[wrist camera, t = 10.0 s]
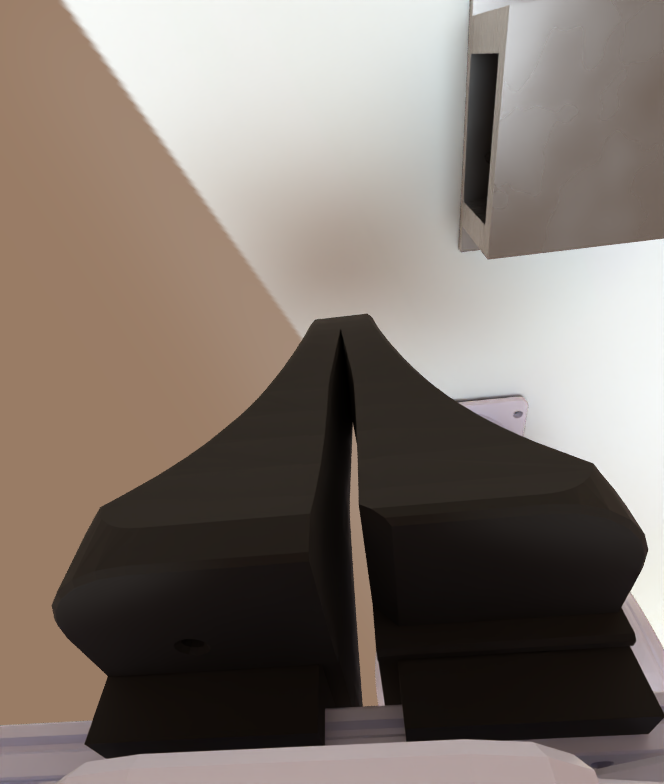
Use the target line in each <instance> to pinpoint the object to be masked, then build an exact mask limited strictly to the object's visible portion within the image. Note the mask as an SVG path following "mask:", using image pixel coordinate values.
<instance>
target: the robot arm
mask: <svg viewBox="0 0 664 784" xmlns="http://www.w3.org/2000/svg"><path fill="white" fill-rule="evenodd" d="M517 411H520V412H518V413H516V414H514V413H515V412H517ZM527 411H528V403H527V401H526V399H525V398H523V397H508V398H498V399H488V400H477V401H467V402H456V401H455V400H453V399H452V398H450V397H449V396H447V395H446V394H444V393H443V392H442V391H440V390H439V389H438V388H436V387H435V386H434V385H432V384H431V383H430V382H429V381H428V380H426V379H425V378H424V377H423V376H422V375H421V374H420V373H419V372H417V371H416V370H415V369H414V368H413V367H412V366H411V365H410V364H409V363H408V362H407V361H406V360H405V359H404V358H403V357H402V356H401V355H400V354H399V353H398V351H397V350H396V349H395V348H394V347H393V346H392V345H391V344H390V342H389V341H388V340H387V339H386V337H385V336H384V335H383V334H382V332H381V331H380V329H379V328H378V327H377V325H376V323H375V322H374V320H373V318H372V317H371V316H370V315H368V314H361V315H352V316H344V317H335V318H326V319H317V320H315V321H314V322H313V323H312V324H311V326H310V328H309V329H308V331H307V333H306V334H305V336H304V338H303V339H302V341H301V343H300V344H299V346H298V347H297V349H296V351H295V352H294V353H293V355H292V356H291V358H290V359H289V360H288V362H287V363H286V365H285V366H284V368H283V369H282V370H281V371H280V373H279V374H278V375H277V376H276V378H275V379H274V380H273V381H272V383H271V384H270V385H269V386H268V388H267V389H266V390H265V391H264V392H263V393H262V394H261V396H260V397H259V398H258V399H257V400H256V401H255V402H254V403H253V404H252V405H251V406H250V407H249V408H248V409H247V410H246V411H245V412H244V413H242V414H241V415H240V416H239V417H238V418H237V419H236V420H234V421H233V422H232V423H231V424H230V425H228V426H227V427H226V428H225V429H223V430H222V431H221V432H220V433H218V435H216V436H215V437H214V438H212V439H211V440H210V441H209V442H207V443H206V444H205V445H203V446H202V447H200V448H199V449H198V450H196V451H195V452H193V453H192V454H191V455H189V456H188V457H186V458H185V459H183V460H182V461H180V462H178V463H177V464H175V465H174V466H172V467H171V468H169V469H168V470H166V471H164V472H163V473H161V474H159V475H158V476H156V477H155V478H153V479H151V480H149V481H147V482H146V483H144V484H142V485H140V486H138V487H137V488H135V489H133V490H131V491H130V492H128V493H126V494H124V495H122V496H121V497H119V498H117V499H115V500H113V501H112V502H110V503H108V504H106V505H104V506H102V507H100V509H99V511H98V512H97V514H96V516H95V518H94V520H93V521H92V524H91V525H90V527H89V529H88V531H87V532H86V534H85V537H84V539H83V541H82V543H81V545H80V547H79V549H78V551H77V553H76V555H75V557H74V559H73V561H72V563H71V565H70V567H69V569H68V571H67V573H66V575H65V577H64V579H63V581H62V583H61V585H60V587H59V589H58V591H57V594H56V596H55V599H54V601H53V604H52V609H53V614H54V618H55V621H56V623H57V625H58V626H59V627H60V629H61V630H62V632H63V633H64V634H65V635H66V637H67V638H68V639H69V640H70V641H71V642H72V643H73V644H74V645H75V646H77V648H79V649H80V650H81V651H82V652H83V653H84V654H85V655H86V656H87V657H88V658H89V659H90V660H91V661H92V662H94V663H95V664H96V665H97V666H98V667H99V668H100V669H101V670H102V671H103V672H104V673H105V674H106V675H107V676H108V678H107V681H106V684H105V686H104V689H103V692H102V695H101V698H100V701H99V704H98V706H97V709H96V712H95V715H94V718H93V721H76V722H58V723H38V724H18V725H0V784H664V649H663V647H662V645H661V643H660V641H659V639H658V637H657V635H656V634H655V632H654V630H653V628H652V626H651V625H650V623H649V621H648V619H647V618H646V616H645V614H644V613H643V611H642V609H641V608H640V606H639V604H638V603H637V601H636V600H635V598H634V597H633V595H632V594H631V592H630V591H631V589H632V587H633V585H634V583H635V581H636V579H637V578H638V576H639V574H640V572H641V570H642V568H643V566H644V562H645V559H646V556H647V552H648V547H647V542H646V538H645V534H644V532H643V531H642V529H641V528H640V526H639V525H638V523H637V522H636V520H635V519H634V517H633V516H632V514H631V512H630V511H629V509H628V508H627V506H626V505H625V503H624V502H623V501H622V499H621V498H620V496H619V495H618V494H617V492H616V491H615V490H614V488H613V487H612V486H611V485H610V484H609V482H608V481H607V480H606V479H605V478H604V477H603V475H602V474H601V473H600V472H599V470H598V469H597V468H596V466H595V465H594V464H593V463H590V462H588V461H585V460H582V459H580V458H577V457H574V456H572V455H569V454H566V453H563V452H561V451H558V450H555V449H553V448H550V447H547V446H545V445H542V444H539V443H536V442H534V441H532V440H529V439H527V438H525V437H523V433H524V427H525V422H526V416H527ZM353 426H354V430H355V436H356V442H357V452H358V482H359V483H358V486H359V509H360V517H361V524H362V531H363V538H364V545H365V553H366V559H367V567H368V574H369V581H370V589H371V596H372V603H373V613H374V614H373V615H374V628H375V640H376V661H375V677H376V690H377V698H378V705H379V706H365V707H363V705H362V691H361V678H360V666H359V665H360V664H359V652H358V636H357V622H356V607H355V593H354V578H353V563H352V546H351V529H350V477H351V453H352V427H353Z"/></svg>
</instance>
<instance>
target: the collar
mask: <svg viewBox="0 0 664 784" xmlns="http://www.w3.org/2000/svg"><path fill="white" fill-rule="evenodd" d="M663 238H664V0H470V19H469V41H468V62H467V84H466V106H465V128H464V149H463V171H462V193H461V215H460V236H459V250H460V251H461V252H467V251H475V250H481V251H482V253H483V254H484V255H485V257H486V258H487V259H496V258H504V257H513V256H521V255H529V254H538V253H546V252H554V251H563V250H571V249H579V248H588V247H596V246H604V245H613V244H621V243H630V242H638V241H646V240H655V239H663Z"/></svg>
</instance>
